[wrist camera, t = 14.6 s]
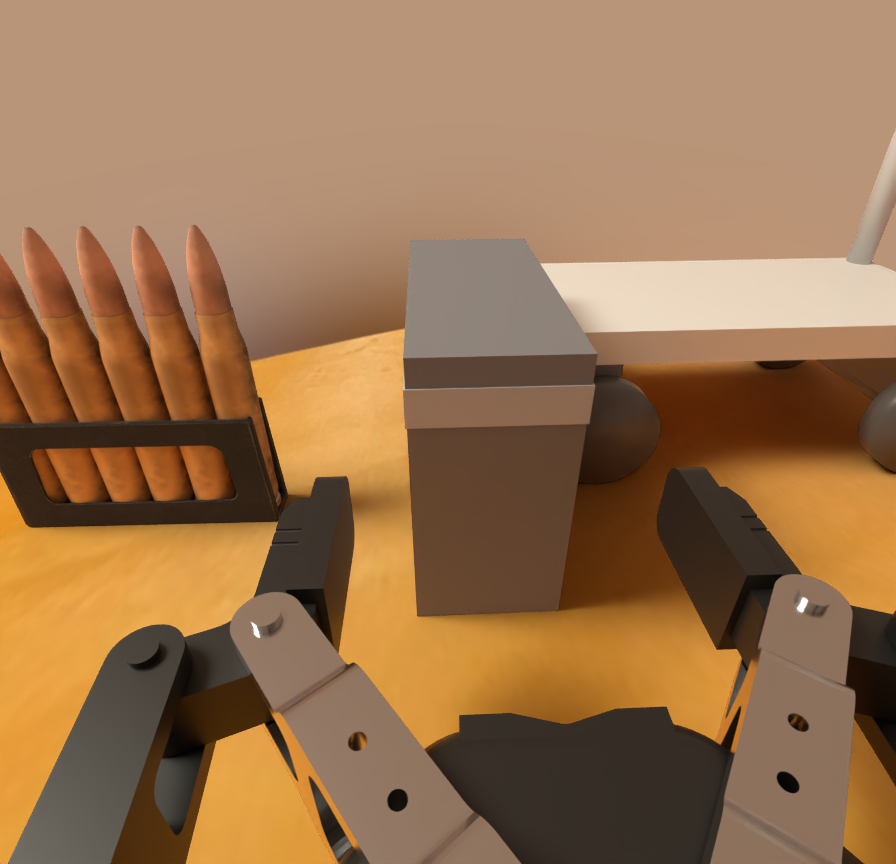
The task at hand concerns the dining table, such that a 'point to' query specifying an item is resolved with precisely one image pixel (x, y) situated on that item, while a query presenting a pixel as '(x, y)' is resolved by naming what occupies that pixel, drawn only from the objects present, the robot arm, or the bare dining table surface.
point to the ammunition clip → (130, 396)
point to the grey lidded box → (491, 426)
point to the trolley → (736, 330)
